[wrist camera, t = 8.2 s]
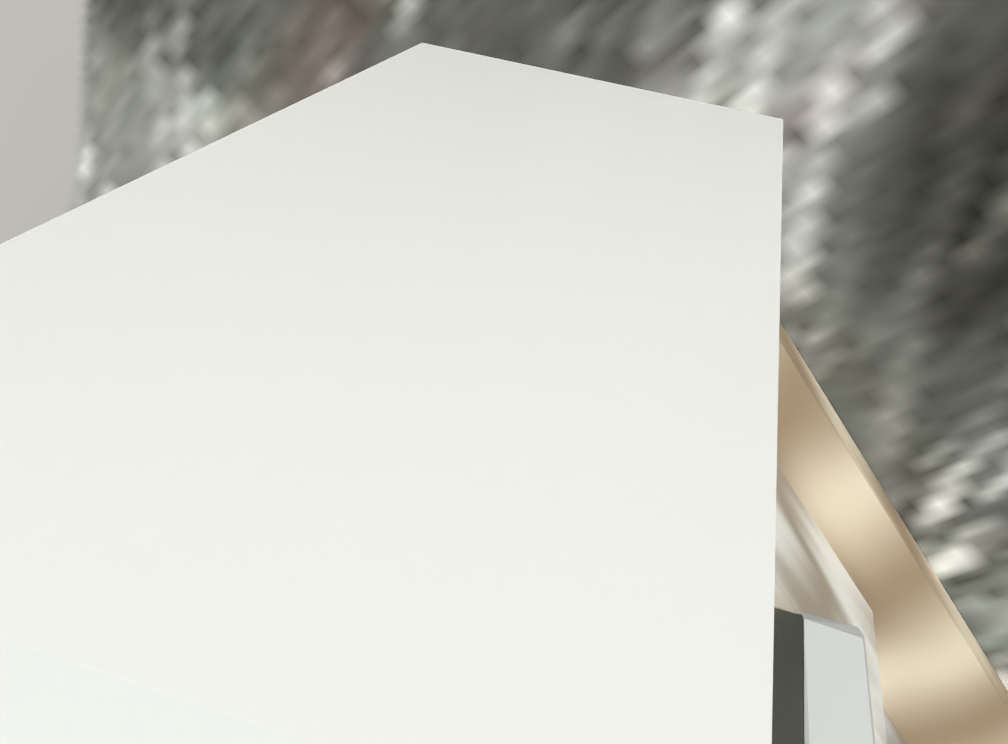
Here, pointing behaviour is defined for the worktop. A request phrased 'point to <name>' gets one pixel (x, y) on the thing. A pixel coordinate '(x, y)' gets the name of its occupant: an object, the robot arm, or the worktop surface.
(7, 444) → the block
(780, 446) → the rail board
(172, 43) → the worktop surface
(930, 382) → the worktop surface
